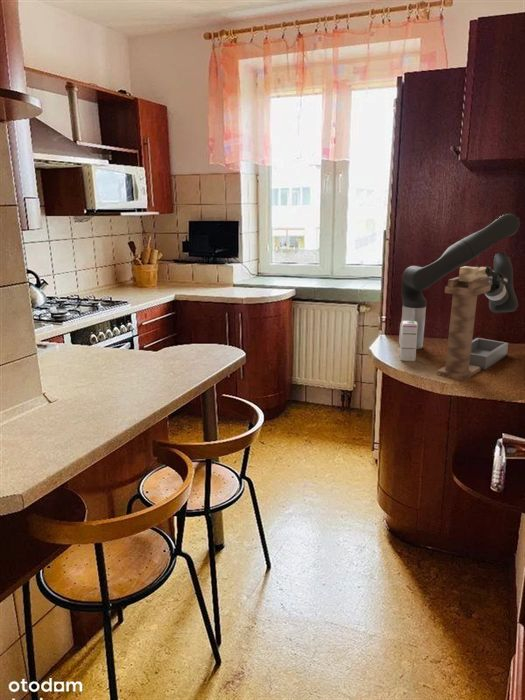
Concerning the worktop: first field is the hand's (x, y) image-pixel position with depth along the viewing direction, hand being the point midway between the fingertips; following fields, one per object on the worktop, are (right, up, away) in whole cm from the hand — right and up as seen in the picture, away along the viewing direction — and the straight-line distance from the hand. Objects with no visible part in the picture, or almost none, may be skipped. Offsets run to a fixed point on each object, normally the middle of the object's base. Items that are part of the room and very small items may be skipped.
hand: (481, 268), depth 178 cm
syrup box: (-21, -32, +18) cm, 43 cm away
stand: (-7, -37, +2) cm, 37 cm away
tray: (+7, -32, +17) cm, 37 cm away
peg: (-3, -4, -3) cm, 6 cm away
